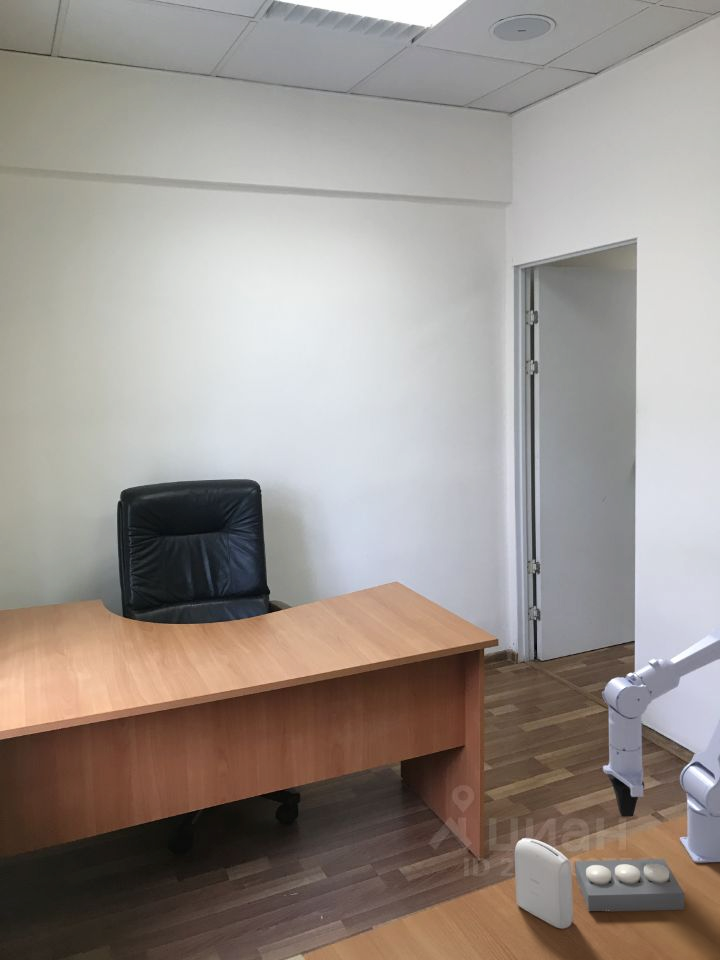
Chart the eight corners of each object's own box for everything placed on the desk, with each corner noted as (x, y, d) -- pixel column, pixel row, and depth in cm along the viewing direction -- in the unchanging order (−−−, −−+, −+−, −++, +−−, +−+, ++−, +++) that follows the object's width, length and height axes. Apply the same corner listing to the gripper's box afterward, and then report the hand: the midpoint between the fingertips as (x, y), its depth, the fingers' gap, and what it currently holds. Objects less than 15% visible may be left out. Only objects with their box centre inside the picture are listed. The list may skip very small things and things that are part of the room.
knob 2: (664, 883, 145) (664, 863, 144) (672, 898, 140) (672, 877, 140) (640, 884, 145) (640, 863, 144) (648, 899, 141) (647, 877, 140)
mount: (664, 874, 147) (664, 858, 147) (684, 909, 138) (684, 893, 137) (575, 876, 148) (574, 861, 148) (588, 912, 138) (588, 895, 138)
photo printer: (512, 905, 141) (510, 837, 140) (528, 894, 144) (526, 828, 142) (561, 933, 133) (559, 862, 132) (577, 922, 136) (575, 852, 134)
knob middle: (636, 884, 145) (635, 863, 144) (643, 899, 141) (643, 878, 140) (612, 885, 145) (611, 864, 145) (618, 899, 141) (618, 878, 140)
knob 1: (607, 885, 145) (607, 864, 145) (614, 900, 141) (613, 878, 140) (584, 885, 145) (583, 865, 145) (589, 900, 141) (589, 879, 141)
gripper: (593, 728, 156) (594, 795, 158) (614, 763, 142) (615, 836, 144) (630, 727, 156) (631, 794, 158) (655, 762, 142) (655, 835, 143)
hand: (626, 814), depth 151 cm, fingers closed
